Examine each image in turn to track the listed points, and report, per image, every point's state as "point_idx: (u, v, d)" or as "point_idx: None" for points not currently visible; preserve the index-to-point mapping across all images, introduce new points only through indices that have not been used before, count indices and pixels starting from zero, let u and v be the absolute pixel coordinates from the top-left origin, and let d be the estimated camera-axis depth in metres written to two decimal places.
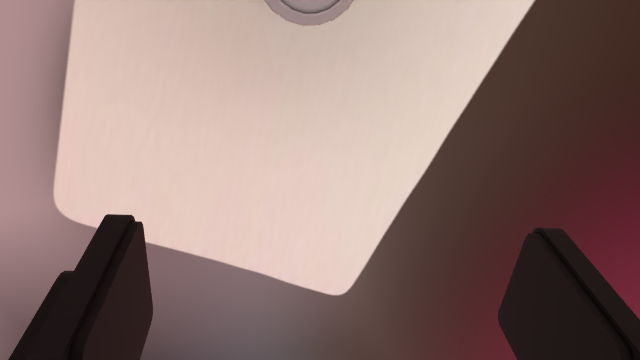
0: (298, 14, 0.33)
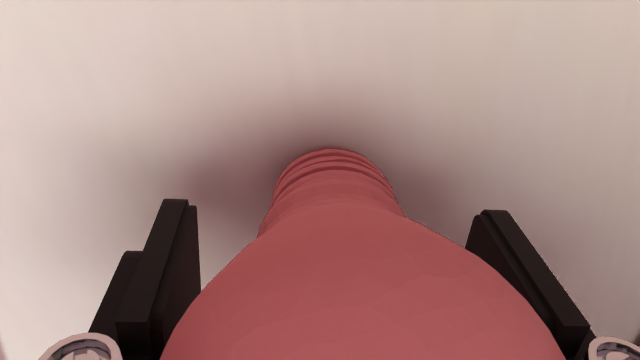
0: None
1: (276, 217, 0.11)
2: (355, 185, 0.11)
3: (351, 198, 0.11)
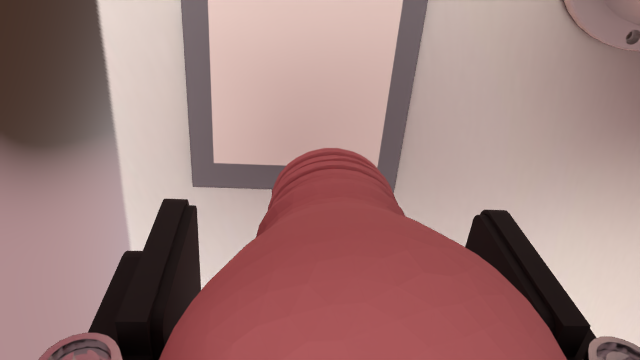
0: None
1: (275, 216, 0.11)
2: (354, 184, 0.11)
3: (350, 197, 0.11)
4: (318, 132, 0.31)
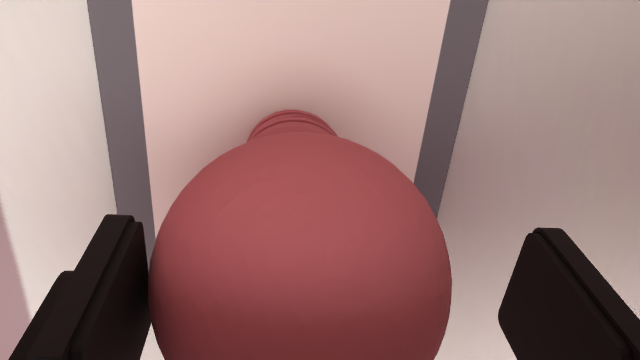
0: None
1: None
2: (305, 127, 0.15)
3: None
4: None
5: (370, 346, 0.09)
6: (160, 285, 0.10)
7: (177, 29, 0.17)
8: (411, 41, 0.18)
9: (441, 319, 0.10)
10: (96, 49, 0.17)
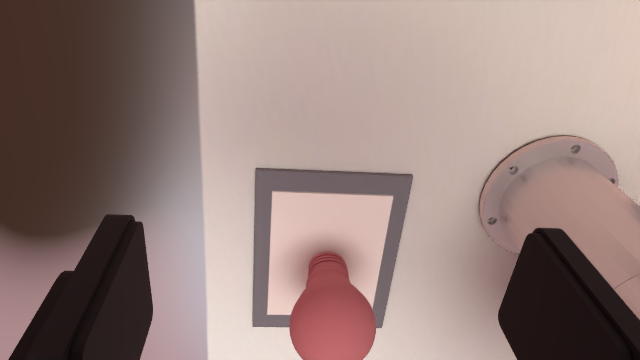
0: None
1: (312, 277, 0.43)
2: (333, 268, 0.43)
3: (332, 273, 0.43)
4: None
5: (350, 347, 0.37)
6: (297, 330, 0.38)
7: (286, 225, 0.45)
8: (375, 227, 0.46)
9: (370, 340, 0.38)
10: (255, 231, 0.45)
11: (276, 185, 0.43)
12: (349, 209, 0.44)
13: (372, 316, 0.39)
